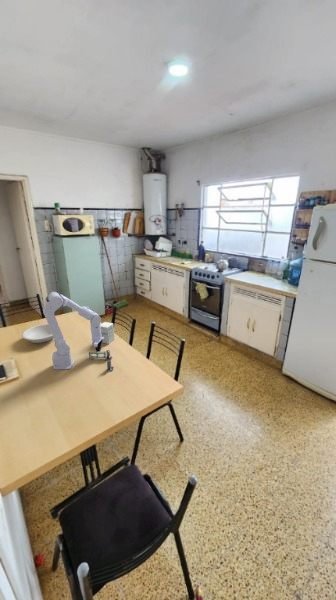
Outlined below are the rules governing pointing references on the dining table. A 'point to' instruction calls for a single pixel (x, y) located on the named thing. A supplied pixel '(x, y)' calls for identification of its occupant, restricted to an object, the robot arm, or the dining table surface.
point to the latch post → (109, 366)
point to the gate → (97, 355)
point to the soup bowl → (38, 333)
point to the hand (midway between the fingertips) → (98, 351)
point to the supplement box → (107, 332)
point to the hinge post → (108, 355)
